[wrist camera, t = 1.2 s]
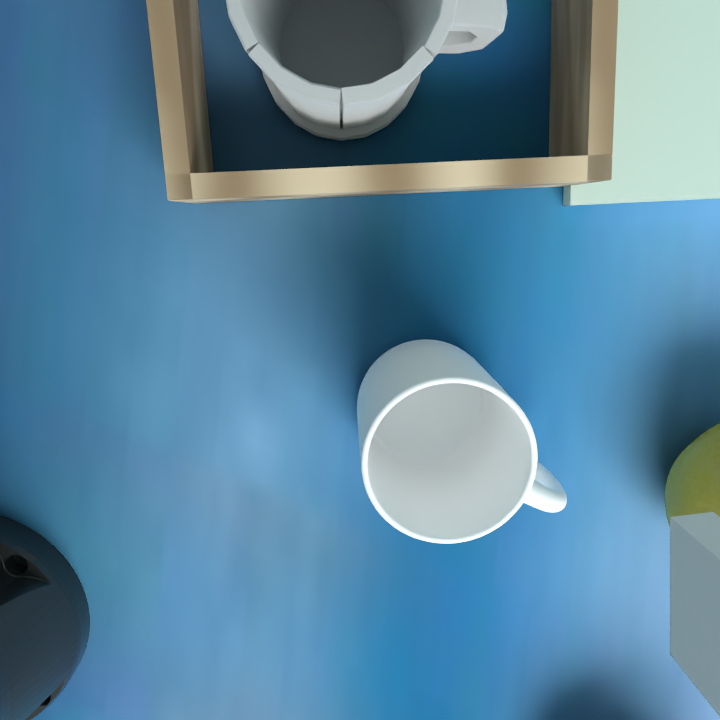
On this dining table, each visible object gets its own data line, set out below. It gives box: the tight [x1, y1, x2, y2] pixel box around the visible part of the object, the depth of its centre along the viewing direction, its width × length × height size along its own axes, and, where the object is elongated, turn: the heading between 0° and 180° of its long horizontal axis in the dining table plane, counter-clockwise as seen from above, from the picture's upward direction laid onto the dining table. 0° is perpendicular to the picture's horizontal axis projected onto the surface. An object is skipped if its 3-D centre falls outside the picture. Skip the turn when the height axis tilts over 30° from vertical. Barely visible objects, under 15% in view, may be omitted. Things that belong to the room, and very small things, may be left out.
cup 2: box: [357, 339, 567, 543], centre depth 35 cm, size 8×12×10 cm
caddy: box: [146, 0, 618, 203], centre depth 32 cm, size 22×15×6 cm
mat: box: [563, 0, 720, 206], centre depth 36 cm, size 11×11×1 cm
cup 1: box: [226, 0, 507, 141], centre depth 29 cm, size 10×9×12 cm
